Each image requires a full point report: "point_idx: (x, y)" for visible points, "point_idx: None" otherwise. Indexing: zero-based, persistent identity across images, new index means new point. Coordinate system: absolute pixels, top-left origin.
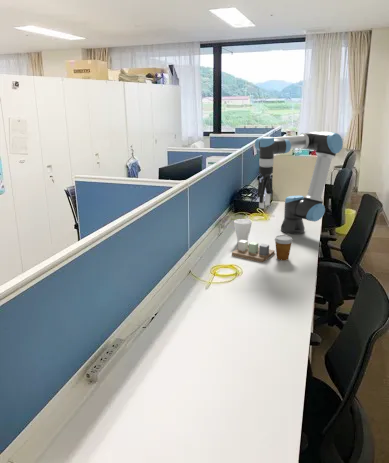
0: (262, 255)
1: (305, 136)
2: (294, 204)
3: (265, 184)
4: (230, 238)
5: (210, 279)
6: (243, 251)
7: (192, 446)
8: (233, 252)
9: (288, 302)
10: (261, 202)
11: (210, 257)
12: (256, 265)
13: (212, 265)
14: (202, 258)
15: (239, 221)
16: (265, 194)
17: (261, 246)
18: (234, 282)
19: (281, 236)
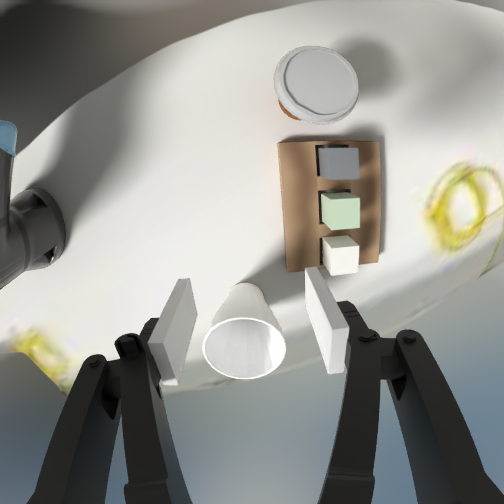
0: None
1: None
2: None
3: (374, 479)
4: None
5: (498, 213)
6: (354, 235)
7: None
8: (377, 257)
9: (486, 36)
10: (351, 305)
11: (408, 295)
12: (402, 150)
13: (448, 257)
14: (420, 305)
15: (226, 366)
16: (179, 379)
17: (358, 169)
18: (492, 159)
19: (301, 100)
